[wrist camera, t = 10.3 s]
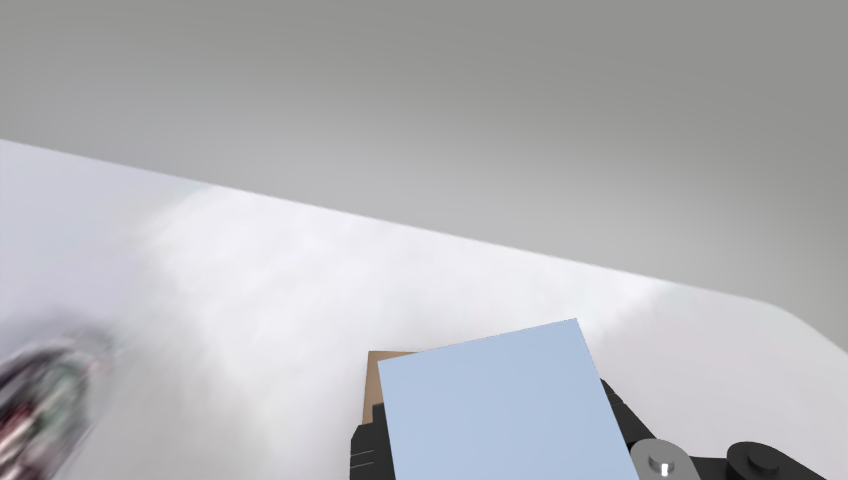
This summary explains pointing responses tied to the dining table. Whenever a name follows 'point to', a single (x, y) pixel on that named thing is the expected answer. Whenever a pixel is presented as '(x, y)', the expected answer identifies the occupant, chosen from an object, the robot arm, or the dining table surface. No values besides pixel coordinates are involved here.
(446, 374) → the slate blue pillar block
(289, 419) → the dining table surface
